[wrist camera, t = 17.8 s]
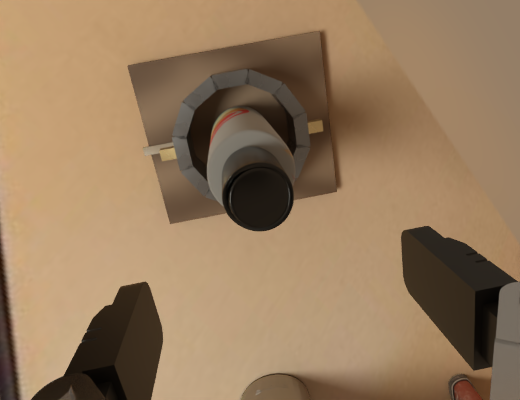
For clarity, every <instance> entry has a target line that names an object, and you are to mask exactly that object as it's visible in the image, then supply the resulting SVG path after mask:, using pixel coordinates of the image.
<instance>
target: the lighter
mask: <svg viewBox="0 0 520 400" xmlns="http://www.w3.org/2000/svg"><path fill="white" fill-rule="evenodd" d="M449 392H450V396H451V399H452V400H483V399H482V398H481V397H480V396H479V394H478V393H477V392H476V390H475V388H474V386H473V385H472V383H471V382H470V380H469V379H468V378H467V377H466V376H465V375H464V374H457V375H455V376H453V377H452V378H451V379H450V380H449Z"/></svg>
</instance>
